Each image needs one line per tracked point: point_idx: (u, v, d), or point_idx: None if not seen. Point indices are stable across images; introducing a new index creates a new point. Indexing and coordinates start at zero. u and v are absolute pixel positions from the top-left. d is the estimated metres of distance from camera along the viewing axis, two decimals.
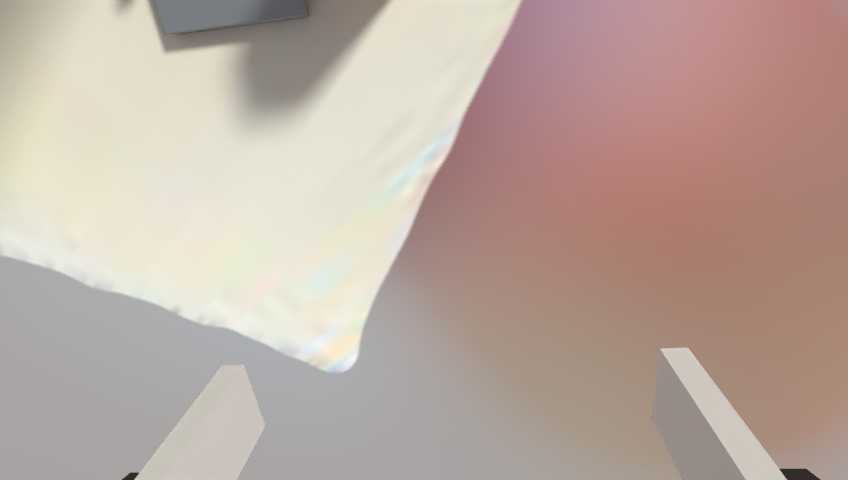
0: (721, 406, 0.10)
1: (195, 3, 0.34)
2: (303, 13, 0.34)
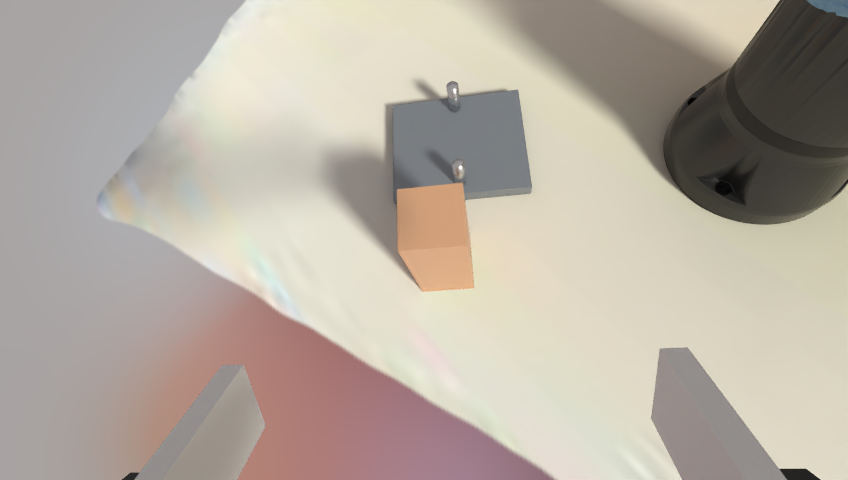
0: (721, 406, 0.10)
1: (409, 128, 0.47)
2: (395, 201, 0.44)
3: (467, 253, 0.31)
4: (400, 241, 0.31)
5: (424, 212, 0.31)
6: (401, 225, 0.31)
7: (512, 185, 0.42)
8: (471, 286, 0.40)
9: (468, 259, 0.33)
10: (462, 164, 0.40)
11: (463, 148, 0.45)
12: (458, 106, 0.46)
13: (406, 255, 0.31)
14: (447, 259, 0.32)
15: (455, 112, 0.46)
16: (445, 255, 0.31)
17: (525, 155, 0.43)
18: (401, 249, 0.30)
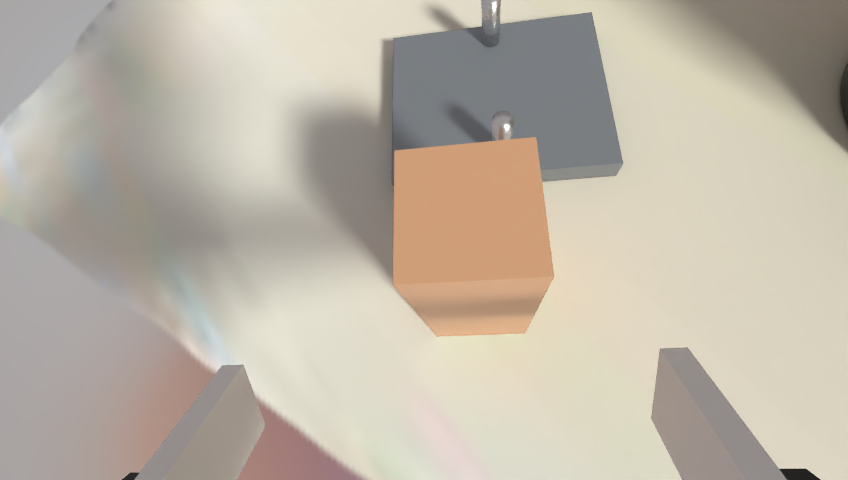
0: (721, 406, 0.10)
1: (418, 71, 0.30)
2: None
3: (544, 290, 0.14)
4: (399, 262, 0.14)
5: (454, 199, 0.14)
6: (402, 227, 0.14)
7: (589, 161, 0.25)
8: (521, 331, 0.23)
9: (540, 299, 0.16)
10: (510, 120, 0.23)
11: (505, 101, 0.28)
12: (497, 36, 0.29)
13: (411, 292, 0.14)
14: (496, 299, 0.16)
15: (491, 47, 0.29)
16: (495, 292, 0.15)
17: (609, 112, 0.26)
18: (401, 281, 0.14)
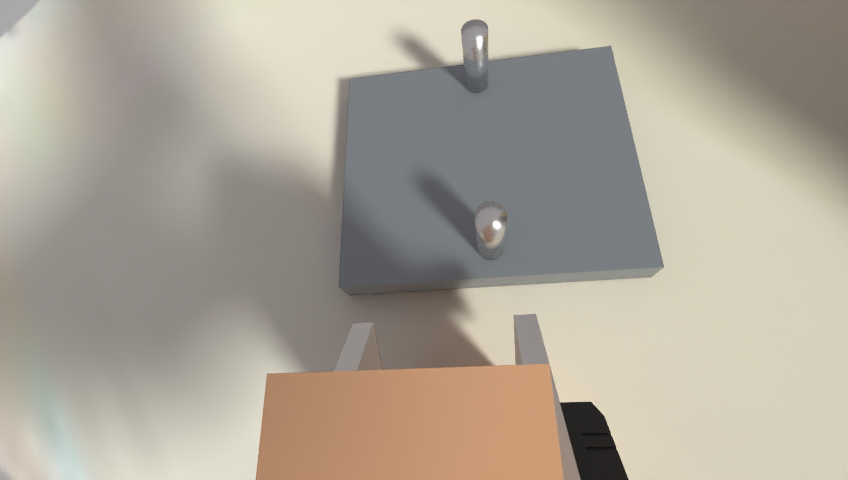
0: (539, 356, 0.12)
1: (380, 126, 0.22)
2: (344, 289, 0.20)
3: None
4: None
5: None
6: None
7: (615, 262, 0.18)
8: None
9: None
10: (502, 218, 0.16)
11: (496, 170, 0.20)
12: (485, 79, 0.21)
13: None
14: None
15: (477, 93, 0.22)
16: None
17: (640, 190, 0.19)
18: None
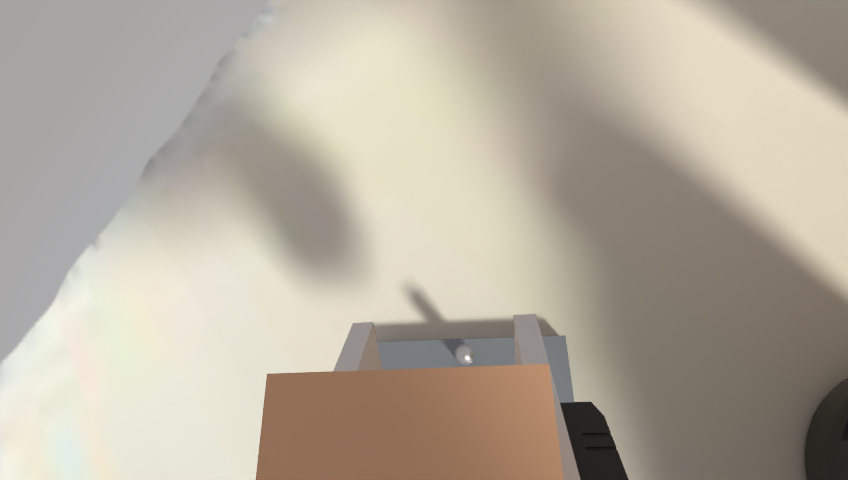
0: (539, 356, 0.12)
1: None
2: None
3: None
4: None
5: None
6: None
7: None
8: None
9: None
10: None
11: None
12: (472, 364, 0.29)
13: None
14: None
15: None
16: None
17: None
18: None
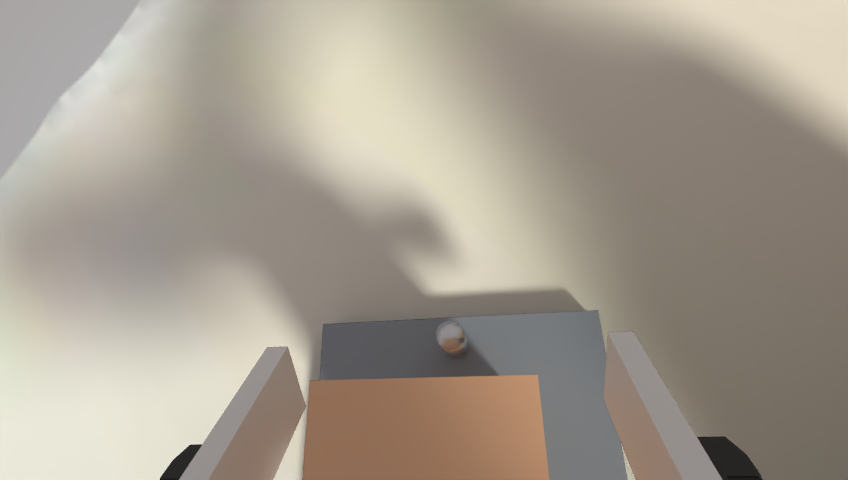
0: (654, 382, 0.11)
1: None
2: None
3: None
4: None
5: None
6: None
7: None
8: None
9: None
10: None
11: None
12: (463, 352, 0.20)
13: None
14: None
15: (457, 358, 0.21)
16: None
17: None
18: None
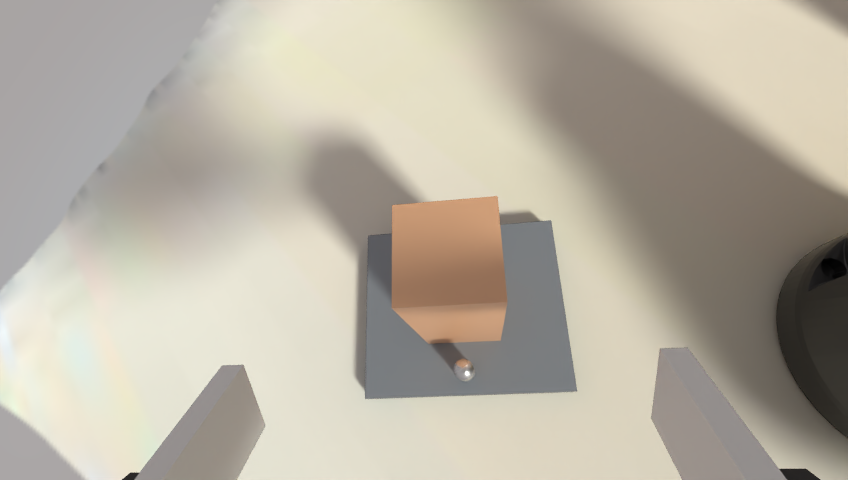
0: (721, 406, 0.10)
1: (390, 275, 0.32)
2: (368, 398, 0.29)
3: (504, 310, 0.19)
4: (396, 291, 0.19)
5: (436, 244, 0.19)
6: (398, 264, 0.19)
7: (546, 386, 0.27)
8: (497, 339, 0.28)
9: (503, 316, 0.21)
10: (470, 371, 0.25)
11: None
12: None
13: (405, 312, 0.19)
14: (470, 316, 0.21)
15: None
16: (467, 312, 0.20)
17: (565, 334, 0.28)
18: (397, 305, 0.18)
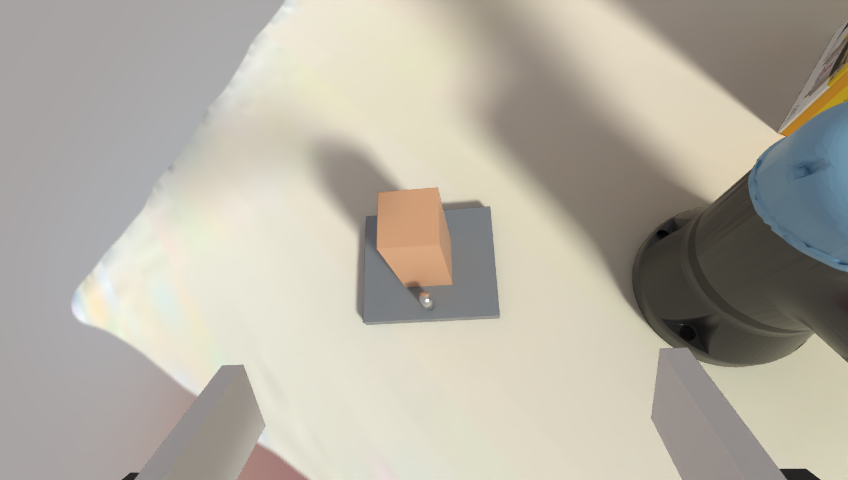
0: (721, 406, 0.10)
1: None
2: (365, 322, 0.44)
3: (440, 252, 0.34)
4: (379, 240, 0.34)
5: (402, 214, 0.34)
6: (381, 225, 0.34)
7: (480, 313, 0.42)
8: (449, 283, 0.43)
9: (442, 257, 0.36)
10: (428, 298, 0.40)
11: None
12: None
13: (384, 253, 0.34)
14: (423, 257, 0.36)
15: None
16: (420, 253, 0.35)
17: (494, 280, 0.43)
18: (380, 247, 0.33)
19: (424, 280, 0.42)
